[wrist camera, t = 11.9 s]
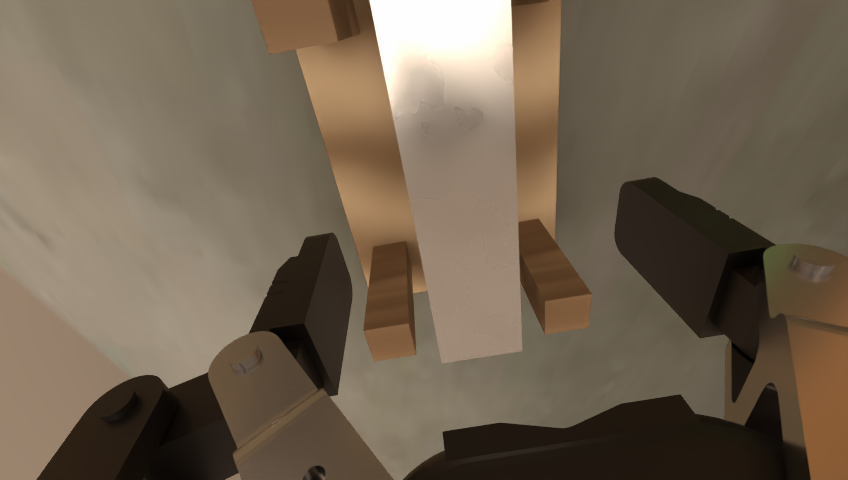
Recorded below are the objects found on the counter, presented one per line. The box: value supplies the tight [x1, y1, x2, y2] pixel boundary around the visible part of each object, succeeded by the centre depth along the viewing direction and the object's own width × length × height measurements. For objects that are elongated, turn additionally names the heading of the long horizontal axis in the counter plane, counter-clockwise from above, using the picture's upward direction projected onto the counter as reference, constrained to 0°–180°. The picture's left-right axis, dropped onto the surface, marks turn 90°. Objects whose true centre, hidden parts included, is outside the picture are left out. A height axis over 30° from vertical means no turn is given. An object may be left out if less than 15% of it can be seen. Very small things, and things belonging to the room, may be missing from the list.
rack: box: [251, 0, 592, 361], centre depth 17 cm, size 19×12×8 cm, turn 9°
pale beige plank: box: [370, 0, 522, 363], centre depth 16 cm, size 18×4×6 cm, turn 9°
